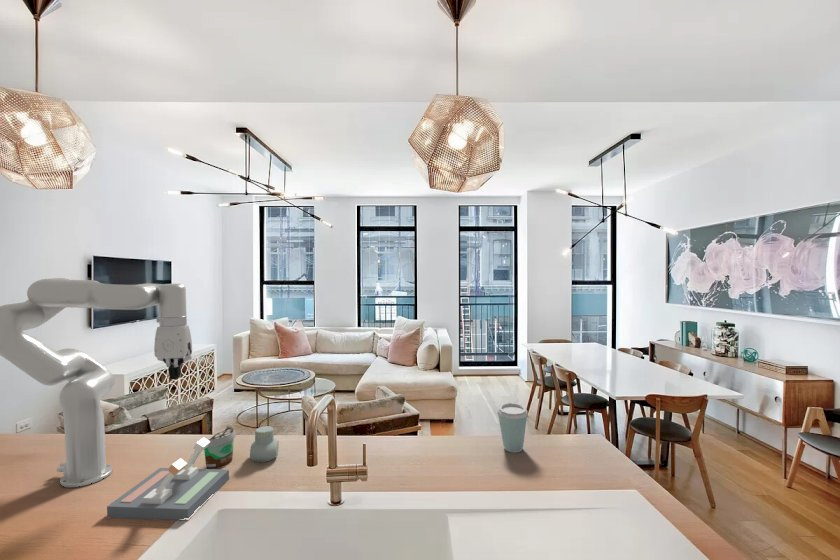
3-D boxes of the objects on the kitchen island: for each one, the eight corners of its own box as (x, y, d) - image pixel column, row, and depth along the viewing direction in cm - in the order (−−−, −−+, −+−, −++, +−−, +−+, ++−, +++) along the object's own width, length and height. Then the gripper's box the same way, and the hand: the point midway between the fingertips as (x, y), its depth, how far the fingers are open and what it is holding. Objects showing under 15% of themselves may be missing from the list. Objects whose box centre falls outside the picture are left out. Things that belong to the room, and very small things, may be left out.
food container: (220, 473, 130) (219, 442, 129) (203, 471, 131) (202, 440, 130) (244, 455, 142) (243, 426, 141) (228, 453, 143) (227, 425, 142)
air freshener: (254, 452, 144) (253, 424, 143) (279, 449, 146) (278, 421, 145) (249, 467, 133) (248, 437, 133) (275, 464, 135) (275, 434, 135)
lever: (180, 468, 120) (196, 442, 120) (188, 462, 124) (203, 437, 123) (187, 473, 120) (203, 447, 120) (194, 467, 124) (210, 441, 123)
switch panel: (107, 517, 107) (106, 500, 107) (160, 477, 127) (159, 463, 127) (188, 520, 106) (187, 503, 106) (229, 479, 126) (228, 465, 126)
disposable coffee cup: (531, 455, 140) (531, 412, 139) (499, 455, 140) (500, 412, 139) (524, 442, 150) (524, 401, 150) (494, 442, 151) (494, 401, 150)
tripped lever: (151, 491, 108) (171, 464, 108) (161, 484, 112) (180, 457, 111) (158, 497, 108) (178, 470, 108) (167, 489, 112) (187, 463, 111)
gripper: (142, 323, 129) (144, 381, 129) (188, 324, 128) (190, 382, 129) (159, 320, 136) (161, 375, 137) (202, 320, 135) (204, 375, 136)
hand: (175, 378), depth 133 cm, fingers closed
